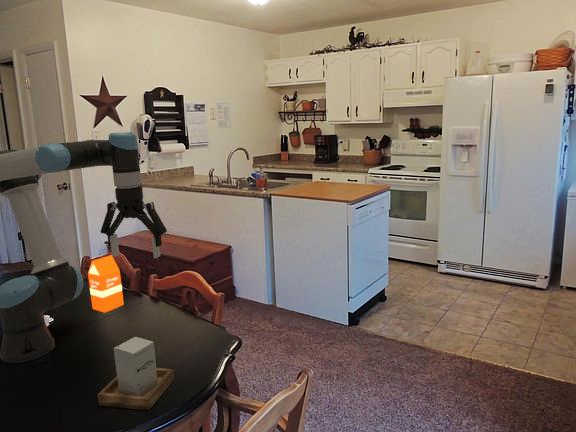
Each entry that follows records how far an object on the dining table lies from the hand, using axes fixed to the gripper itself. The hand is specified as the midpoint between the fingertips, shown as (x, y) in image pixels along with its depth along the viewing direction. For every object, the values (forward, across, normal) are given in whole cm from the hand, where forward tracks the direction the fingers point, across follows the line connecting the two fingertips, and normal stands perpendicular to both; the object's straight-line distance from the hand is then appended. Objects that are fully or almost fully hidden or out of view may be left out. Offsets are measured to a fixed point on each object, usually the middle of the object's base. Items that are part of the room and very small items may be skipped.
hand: (136, 256), depth 137 cm
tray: (+31, -9, +21) cm, 38 cm away
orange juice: (+31, +33, -30) cm, 54 cm away
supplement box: (+30, -9, +21) cm, 38 cm away
